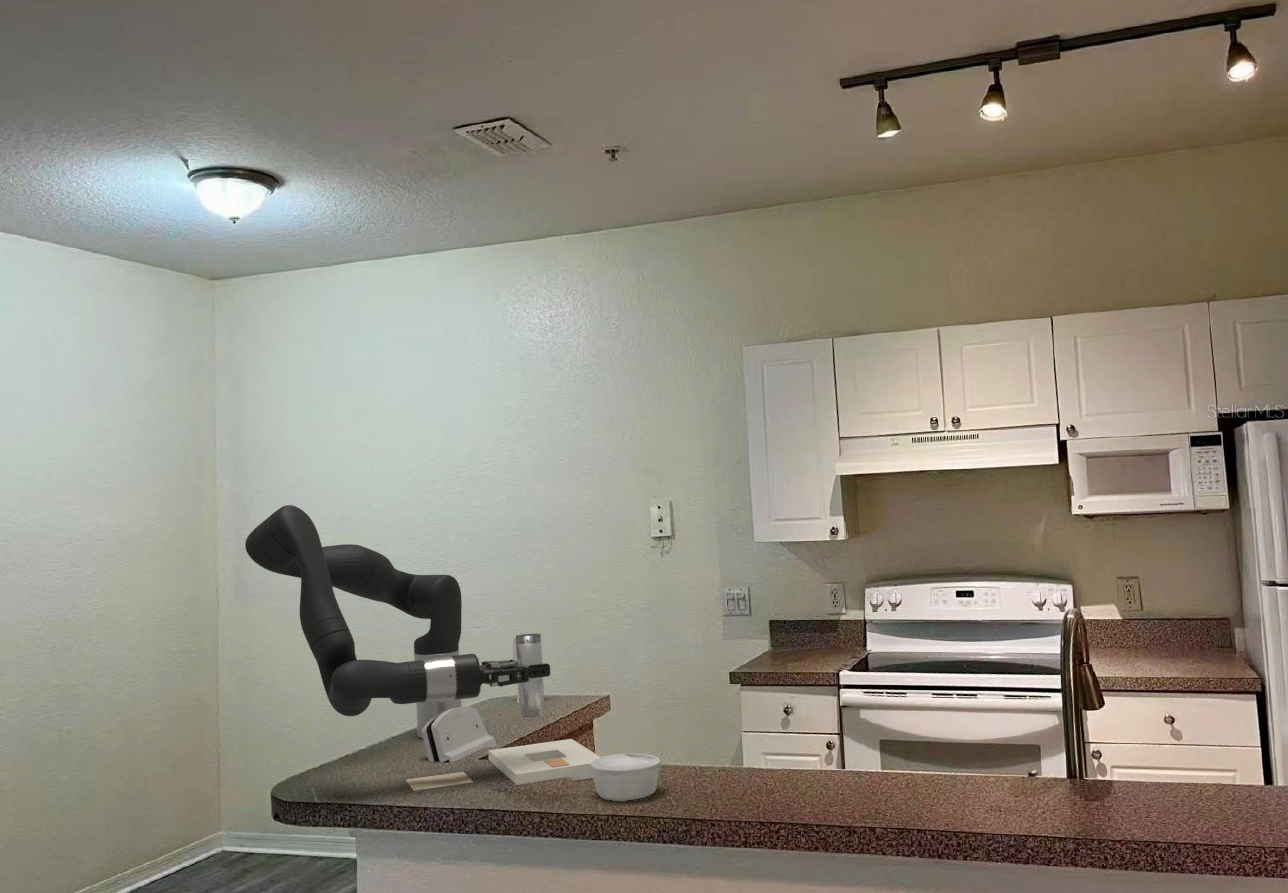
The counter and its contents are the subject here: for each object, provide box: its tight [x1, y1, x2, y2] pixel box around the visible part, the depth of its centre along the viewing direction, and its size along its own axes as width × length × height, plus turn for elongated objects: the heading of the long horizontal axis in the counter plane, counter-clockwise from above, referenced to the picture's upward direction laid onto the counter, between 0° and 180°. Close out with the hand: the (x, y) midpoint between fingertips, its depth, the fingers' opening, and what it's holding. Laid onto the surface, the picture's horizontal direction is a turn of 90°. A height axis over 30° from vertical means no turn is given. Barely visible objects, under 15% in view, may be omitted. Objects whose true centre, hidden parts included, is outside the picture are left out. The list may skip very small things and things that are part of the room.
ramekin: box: [590, 752, 662, 802], centre depth 174 cm, size 11×11×5 cm
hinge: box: [422, 706, 498, 763], centre depth 206 cm, size 17×5×10 cm, turn 158°
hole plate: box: [487, 738, 601, 786], centre depth 192 cm, size 20×16×3 cm
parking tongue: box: [405, 771, 474, 792], centre depth 185 cm, size 8×10×1 cm
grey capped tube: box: [515, 633, 546, 718], centre depth 191 cm, size 4×4×14 cm
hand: (545, 667), depth 193 cm, fingers closed on grey capped tube, 4 cm apart
